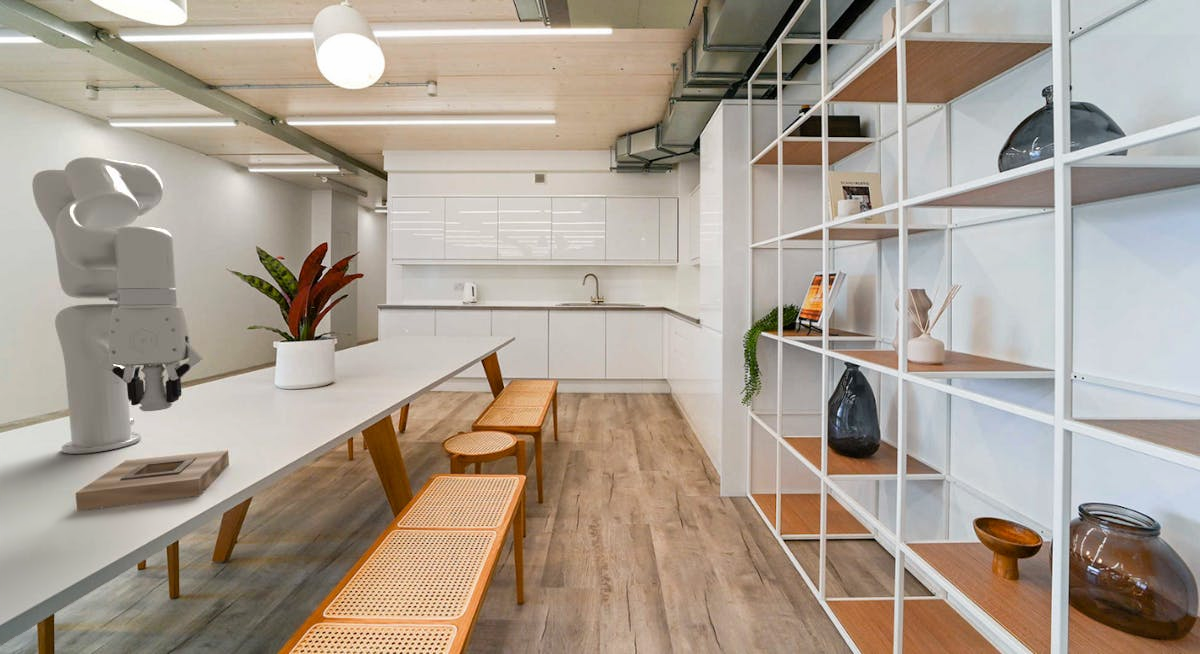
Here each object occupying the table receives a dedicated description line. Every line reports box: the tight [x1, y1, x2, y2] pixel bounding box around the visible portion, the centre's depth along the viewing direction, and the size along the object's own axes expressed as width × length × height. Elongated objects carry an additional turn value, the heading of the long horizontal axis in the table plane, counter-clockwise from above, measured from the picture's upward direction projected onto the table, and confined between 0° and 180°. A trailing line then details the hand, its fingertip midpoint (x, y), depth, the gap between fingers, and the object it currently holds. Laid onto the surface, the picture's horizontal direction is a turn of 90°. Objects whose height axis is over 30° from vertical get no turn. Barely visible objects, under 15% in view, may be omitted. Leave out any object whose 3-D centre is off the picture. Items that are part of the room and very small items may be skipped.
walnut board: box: [75, 449, 230, 512], centre depth 90 cm, size 16×16×3 cm
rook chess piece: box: [139, 364, 173, 412], centre depth 89 cm, size 4×4×8 cm
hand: (155, 401), depth 89 cm, fingers closed on rook chess piece, 4 cm apart
